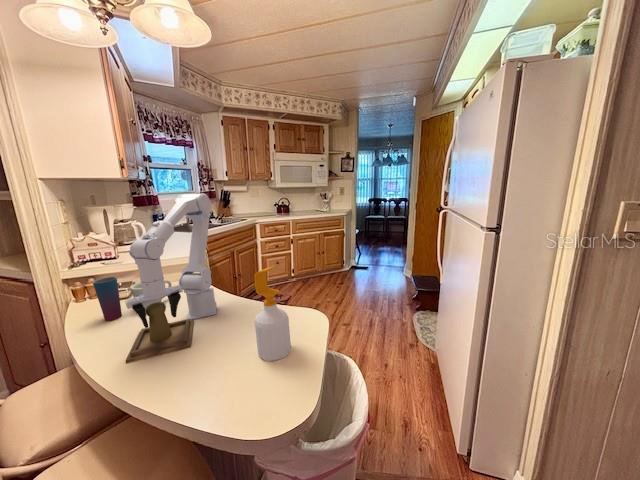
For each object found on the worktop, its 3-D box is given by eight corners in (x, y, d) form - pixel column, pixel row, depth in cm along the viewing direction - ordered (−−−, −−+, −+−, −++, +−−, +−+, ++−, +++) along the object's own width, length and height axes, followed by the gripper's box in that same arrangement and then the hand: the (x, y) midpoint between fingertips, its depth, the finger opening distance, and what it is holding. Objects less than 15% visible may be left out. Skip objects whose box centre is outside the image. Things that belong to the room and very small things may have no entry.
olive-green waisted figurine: (175, 330, 86) (169, 299, 83) (166, 341, 80) (159, 307, 77) (156, 332, 85) (150, 300, 83) (145, 343, 79) (138, 309, 77)
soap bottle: (276, 365, 68) (267, 275, 63) (251, 355, 73) (241, 270, 67) (297, 347, 75) (291, 264, 70) (273, 338, 80) (265, 260, 75)
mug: (129, 310, 104) (124, 286, 102) (166, 295, 116) (162, 274, 114) (144, 315, 99) (139, 290, 97) (181, 299, 111) (177, 277, 109)
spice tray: (193, 322, 92) (192, 316, 92) (190, 347, 78) (189, 340, 77) (140, 333, 86) (138, 328, 86) (126, 363, 72) (124, 356, 71)
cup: (112, 323, 94) (103, 283, 91) (97, 321, 96) (87, 282, 93) (129, 313, 101) (121, 276, 98) (114, 312, 102) (106, 276, 99)
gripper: (173, 269, 86) (180, 308, 88) (119, 283, 75) (129, 326, 78) (182, 274, 81) (189, 314, 84) (125, 289, 71) (135, 335, 73)
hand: (160, 321), depth 81 cm, fingers open, 7 cm apart
